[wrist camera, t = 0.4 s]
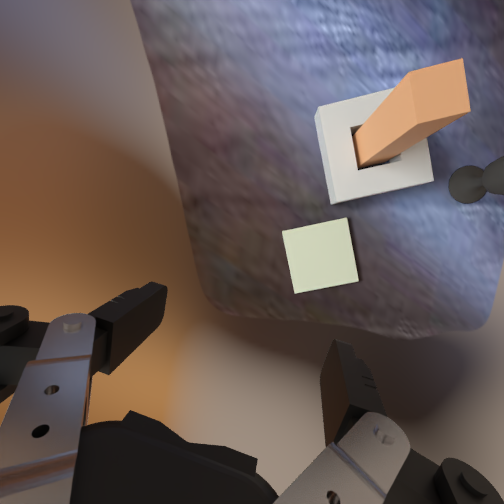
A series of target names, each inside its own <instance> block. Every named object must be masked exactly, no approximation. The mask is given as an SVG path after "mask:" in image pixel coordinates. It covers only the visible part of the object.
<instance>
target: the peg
mask: <svg viewBox="0 0 504 504" xmlns="http://www.w3.org/2000/svg"><path fill="white" fill-rule="evenodd" d="M470 111H471V110H470V104H469V97H468V91H467V84H466V77H465V71H464V64H463V58H462V59H458V60H454V61H450V62H446V63H442V64H438V65H434V66H430V67H426V68H422V69H419V70H415V71H411V72H408V74H407V75H406V76H405V77H404V78H403V79H402V80H401V82H400V83H399V84H398V85H397V86H396V87H395V88H394V90H393V91H392V92H391V93H390V94H389V95H388V96H387V98H386V99H385V100H384V101H383V102H382V103H381V104H380V106H379V107H378V108H377V109H376V110H375V111H374V112H373V114H372V115H371V116H370V117H369V118H368V119H367V120H366V122H365V123H364V124H363V125H362V126H361V127H360V128H359V129H358V131H357V132H356V133H355V134H354V135H353V136H352V140H353V146H354V151H355V157H356V162H357V168H363V167H367V166H371V165H376V164H380V163H384V162H386V161H388V160H390V159H391V158H393V157H395V156H396V155H398V154H400V153H401V152H403V151H405V150H406V149H408V148H410V147H411V146H413V145H415V144H416V143H418V142H420V141H421V140H423V139H425V138H426V137H428V136H430V135H431V134H433V133H435V132H437V131H438V130H440V129H442V128H443V127H445V126H447V125H448V124H450V123H452V122H453V121H455V120H457V119H458V118H460V117H462V116H463V115H465V114H467V113H468V112H470Z"/></svg>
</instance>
